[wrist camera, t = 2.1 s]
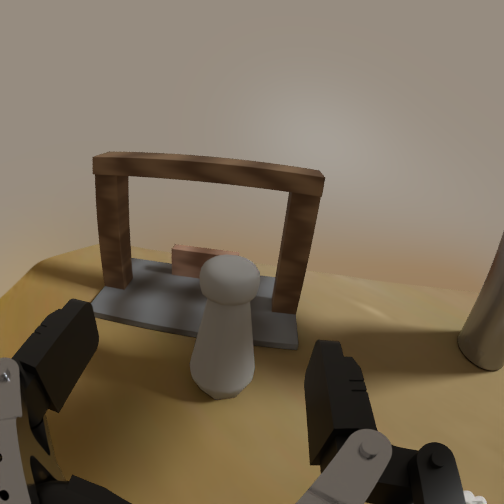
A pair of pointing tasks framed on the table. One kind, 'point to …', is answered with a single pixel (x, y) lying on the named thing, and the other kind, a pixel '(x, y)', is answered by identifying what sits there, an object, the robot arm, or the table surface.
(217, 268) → the salt shaker
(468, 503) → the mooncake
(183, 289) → the gateway
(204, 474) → the table surface
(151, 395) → the table surface
